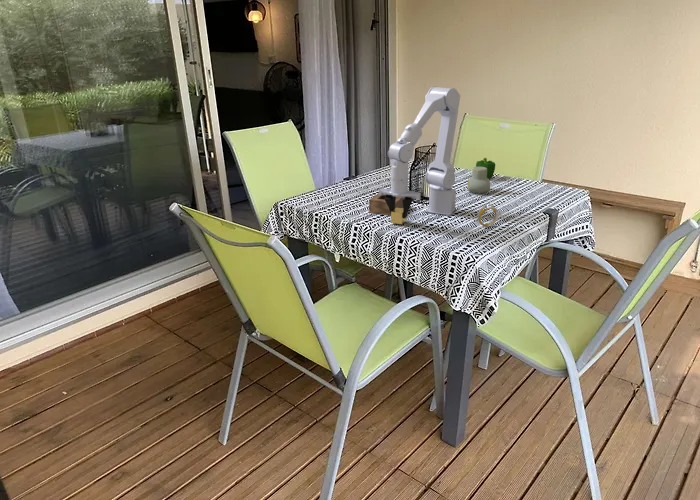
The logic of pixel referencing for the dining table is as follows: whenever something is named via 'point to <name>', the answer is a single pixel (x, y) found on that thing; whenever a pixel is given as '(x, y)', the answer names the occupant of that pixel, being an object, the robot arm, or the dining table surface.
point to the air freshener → (479, 181)
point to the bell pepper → (488, 165)
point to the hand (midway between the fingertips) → (398, 216)
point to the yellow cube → (397, 216)
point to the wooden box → (383, 204)
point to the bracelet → (485, 211)
